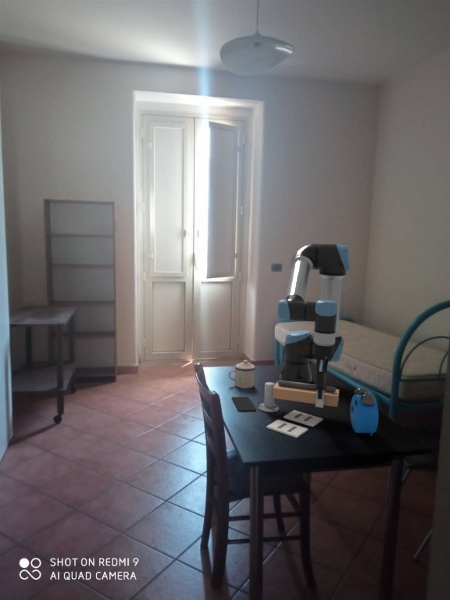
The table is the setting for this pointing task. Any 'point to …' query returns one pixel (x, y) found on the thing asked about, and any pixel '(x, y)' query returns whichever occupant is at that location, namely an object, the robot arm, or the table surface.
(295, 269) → the robot arm
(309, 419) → the plate
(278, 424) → the plate
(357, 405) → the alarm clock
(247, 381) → the teacup with lid
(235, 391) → the table surface
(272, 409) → the base
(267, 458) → the table surface
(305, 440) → the table surface
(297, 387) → the wooden beam with rod
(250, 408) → the phone
